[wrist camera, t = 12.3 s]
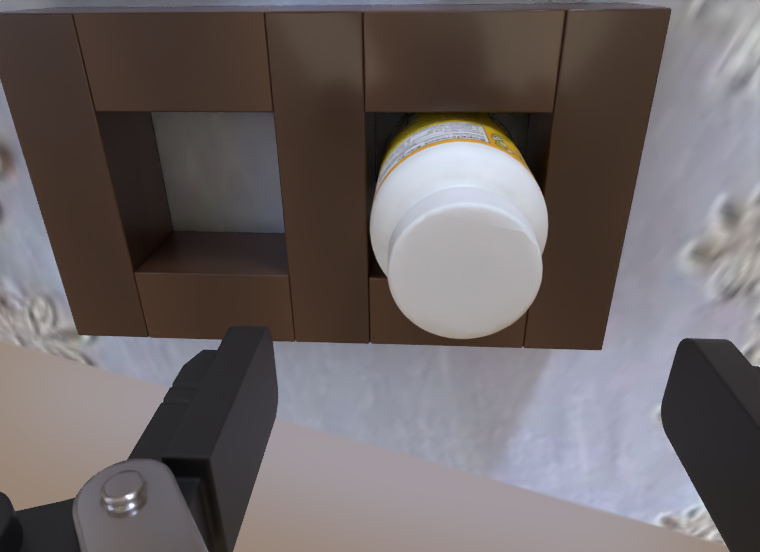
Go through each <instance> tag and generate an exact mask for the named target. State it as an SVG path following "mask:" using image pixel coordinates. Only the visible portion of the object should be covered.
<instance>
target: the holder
mask: <svg viewBox="0 0 760 552" xmlns="http://www.w3.org/2000/svg"><path fill="white" fill-rule="evenodd" d="M670 14H671V9H670V8H665V7H657V6H649V5H640V4H632V3H552V4H433V5H374V6H372V5H314V6H192V7H78V8H44V9H31V10H19V11H7V12H0V79H1V82H2V85H3V89H4V92H5V95H6V99H7V102H8V105H9V108H10V112H11V115H12V118H13V122H14V125H15V128H16V131H17V135H18V138H19V141H20V145H21V148H22V151H23V154H24V158H25V161H26V164H27V168H28V171H29V174H30V178H31V181H32V184H33V187H34V191H35V194H36V197H37V201H38V204H39V207H40V210H41V214H42V217H43V220H44V224H45V227H46V230H47V233H48V237H49V240H50V243H51V247H52V250H53V253H54V256H55V260H56V263H57V266H58V270H59V273H60V276H61V279H62V283H63V286H64V289H65V293H66V296H67V299H68V303H69V306H70V309H71V312H72V316H73V319H74V322H75V326H76V329H77V332H78V334H79V335H94V336H128V337H153V338H188V339H222V340H223V338H224V337H225V335H226V333H227V331H228V329H229V328H230V327H231V326H262V327H269V328H270V330H271V334H272V341H292V342H294V341H295V340H296V341H297V342H332V343H366V344H368V343H370V342H371V343H374V344H409V345H443V346H478V347H513V348H522V347H524V348H541V349H575V350H601V349H602V345H603V341H604V336H605V331H606V326H607V321H608V316H609V311H610V306H611V302H612V297H613V292H614V287H615V282H616V277H617V272H618V268H619V263H620V258H621V253H622V248H623V243H624V238H625V233H626V229H627V224H628V219H629V214H630V209H631V204H632V199H633V195H634V190H635V185H636V180H637V175H638V170H639V165H640V160H641V156H642V151H643V146H644V141H645V136H646V131H647V126H648V122H649V117H650V112H651V107H652V102H653V97H654V92H655V87H656V83H657V78H658V73H659V68H660V63H661V58H662V53H663V49H664V44H665V39H666V34H667V29H668V24H669V19H670ZM273 111H274V120H275V131H276V142H277V152H278V163H279V173H280V184H281V195H282V205H283V216H284V226H285V233H227V232H173V229H172V224H171V219H170V213H169V208H168V203H167V198H166V193H165V187H164V182H163V177H162V172H161V167H160V162H159V156H158V151H157V146H156V141H155V136H154V130H153V125H152V120H151V115H150V112H273ZM374 112H400V113H530V119H529V128H528V137H527V146H526V155H525V162H526V164H527V166H528V167H529V169H530V171H531V173H532V175H533V176H534V178H535V180H536V182H537V184H538V186H539V188H540V190H541V192H542V195H543V197H544V200H545V204H546V208H547V214H548V234H547V240H546V244H545V248H544V251H543V254H542V256H541V257H542V265H543V270H542V280H541V284H540V288H539V290H538V293H537V295H536V297H535V299H534V301H533V303H532V304H531V306H530V307H529V308H528V310H527V311H526V312H525V313H524V314H523V315H522V316H521V317H520V318H519V319H518V320H517V321H515V322H514V323H513V324H511V325H510V326H508V327H506V328H504V329H502V330H500V331H498V332H496V333H493V334H491V335H487V336H484V337H478V338H472V339H454V338H447V337H442V336H438V335H436V334H433V333H430V332H428V331H426V330H424V329H422V328H420V327H418V326H417V325H416V324H414V323H413V322H412V321H410V320H409V319H408V318H407V317H406V316H405V315H404V314H403V313H402V311H401V310H400V309H399V307H398V306H397V304H396V303H395V301H394V299H393V296H392V294H391V291H390V288H389V283H388V277H387V276H386V275H385V273H384V272H383V271H382V269H381V267H380V265H379V263H378V262H377V259H376V257H375V254H374V251H373V248H372V244H371V237H370V217H371V210H372V205H373V200H374V195H375V135H374Z"/></svg>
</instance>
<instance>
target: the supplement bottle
mask: <svg viewBox="0 0 760 552" xmlns="http://www.w3.org/2000/svg"><path fill="white" fill-rule="evenodd" d="M547 234H548V214H547V208H546V204H545V200H544V197H543V195H542V192H541V190H540V188H539V186H538V184H537V182H536V180H535V178H534V176H533V175H532V173H531V171H530V169H529V167H528V166H527V164H526V162H525V161H524V159H523V157H522V155H521V153H520V151H519V150H518V148H517V146H516V144H515V142H514V141H513V139H512V137H511V135H510V134H509V132H508V131H507V129H506V128H505V126H504V125H503V124H502V123H501V122H500V121H499V120H498V119H497V118H496V117H495V116H494V115H492V114H491V113H409V114H408V115H407V116H406V117H404V118H403V119H402V120H401V121H400V123H399V124H398V125H397V126H396V127H395V129H394V130H393V132H392V133H391V135H390V137H389V139H388V141H387V143H386V146H385V149H384V152H383V156H382V160H381V165H380V170H379V176H378V181H377V185H376V190H375V195H374V200H373V205H372V210H371V217H370V237H371V244H372V248H373V251H374V254H375V257H376V259H377V262H378V263H379V265H380V267H381V269H382V271H383V272H384V273H385V275H386V276H387V277H388V283H389V288H390V291H391V294H392V296H393V299H394V301H395V303H396V304H397V306H398V307H399V309H400V310H401V311H402V313H403V314H404V315H405V316H406V317H407V318H408V319H409V320H410V321H412V322H413V323H414V324H416V325H417V326H418V327H420V328H422V329H424V330H426V331H428V332H430V333H433V334H436V335H438V336H442V337H447V338H454V339H472V338H478V337H484V336H487V335H491V334H493V333H496V332H498V331H500V330H502V329H504V328H506V327H508V326H510V325H511V324H513V323H514V322H515V321H517V320H518V319H519V318H520V317H521V316H522V315H523V314H524V313H525V312H526V311H527V310H528V308H529V307H530V306H531V304H532V303H533V301H534V299H535V297H536V295H537V293H538V290H539V288H540V284H541V280H542V270H543V265H542V257H541V256H542V254H543V251H544V248H545V244H546V240H547Z"/></svg>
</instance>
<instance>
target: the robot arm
mask: <svg viewBox="0 0 760 552" xmlns="http://www.w3.org/2000/svg"><path fill="white" fill-rule="evenodd" d="M277 405H278V385H277V376H276V367H275V359H274V350H273V341H272V334H271V330H270V328H269V327H262V326H231V327H230V328H229V329H228V331H227V333H226V335H225V337H224V338H223V340H222V342H221V344H220V346H219V348H218V350H203V351H201V352H200V353H199V354H197V355H196V356H195V357H194V358H192V359H191V360H190V361H189V362H187V363H186V364H185V365H184V366H183V367H182V369H181V371H180V372H179V374H178V376H177V377H176V379H175V381H174V382H173V387H170V389H169V391H168V392H167V394H166V396H165V397H164V401H163V403H161V404H160V406H159V407H158V409H157V411H156V412H155V414H154V416H153V417H152V419H151V421H150V422H149V424H148V426H147V428H146V429H145V431H144V433H143V434H142V436H141V438H140V439H139V441H138V443H137V444H136V446H135V448H134V449H133V451H132V453H131V454H130V456H129V458H128V459H127V460H126V461H122V462H119V463H116V464H113V465H111V466H109V467H107V468H105V469H103V470H102V471H100V472H98V473H97V474H96V475H94V476H93V477H92V478H91V479H89V480H88V481H87V482H86V483H85V484H84V486H83V487H82V488H81V489H80V491H79V492H78V494H77V495H76V497H75V498H73V499H69V500H66V501H61V502H56V503H52V504H47V505H43V506H38V507H34V508H29V509H24V510H20V511H14V508H13V506H12V504H11V501H10V500H9V498H8V497H7V496H6V495H5V494H4V493H2V492H0V552H233V550H234V547H235V543H236V540H237V537H238V534H239V531H240V527H241V524H242V521H243V518H244V515H245V512H246V509H247V506H248V503H249V499H250V496H251V493H252V490H253V487H254V484H255V481H256V478H257V474H258V471H259V468H260V465H261V462H262V458H263V456H264V452H265V449H266V446H267V443H268V439H269V437H270V434H271V430H272V427H273V424H274V421H275V417H276V412H277ZM661 417H662V424H663V428H664V431H665V433H666V435H667V437H668V439H669V441H670V443H671V444H672V446H673V448H674V450H675V452H676V454H677V455H678V457H679V459H680V461H681V463H682V465H683V466H684V468H685V470H686V472H687V474H688V476H689V477H690V479H691V481H692V483H693V485H694V487H695V488H696V490H697V492H698V494H699V496H700V498H701V499H702V501H703V503H704V505H705V507H706V509H707V510H708V512H709V514H710V516H711V518H712V520H713V521H714V523H715V525H716V527H717V529H718V531H719V532H720V534H721V536H722V538H723V540H724V542H725V543H726V545H727V547H728V549H729V551H730V552H760V367H759V366H752V365H751V364H750V363H749V361H748V360H747V359H746V358H745V357H744V356H743V355H742V353H741V352H740V351H739V350H738V349H737V348H736V346H735V345H734V344H733V343H732V342H731V341H729V340H726V339H692V338H685V339H683V340H682V341H681V342H680V343H679V345H678V348H677V351H676V354H675V358H674V361H673V365H672V368H671V372H670V375H669V379H668V382H667V386H666V389H665V393H664V396H663V400H662V405H661Z"/></svg>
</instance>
